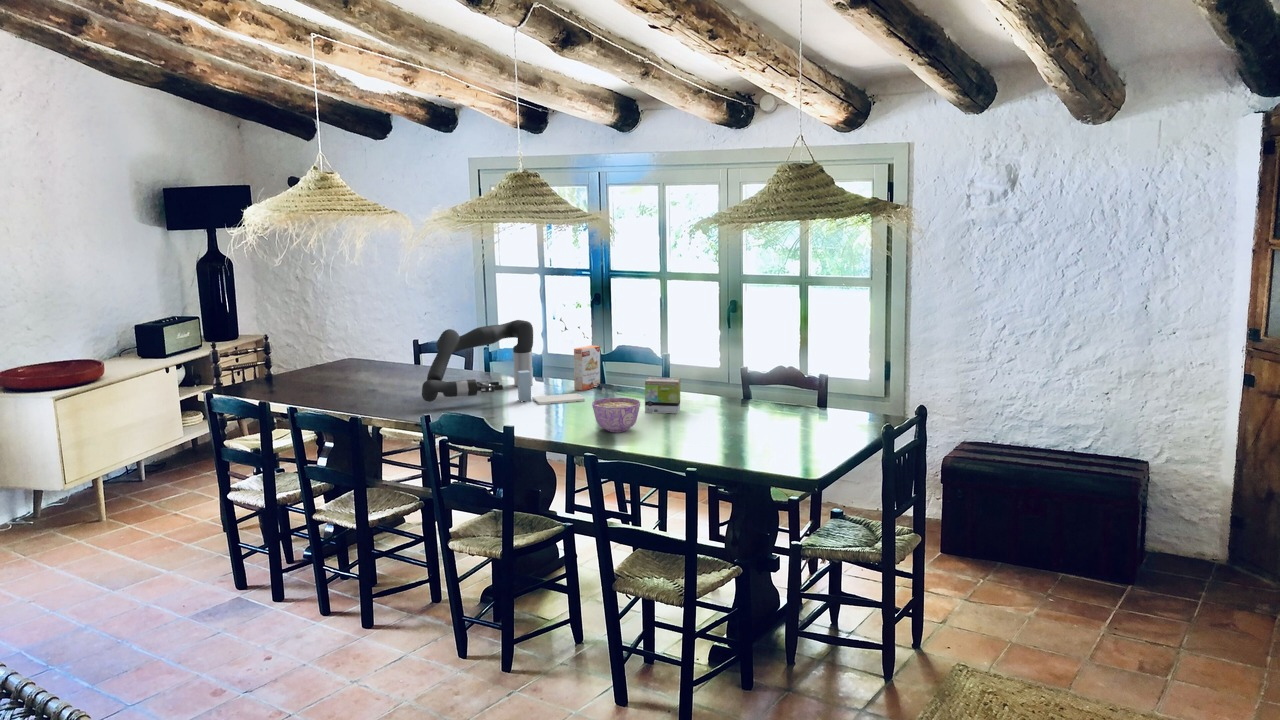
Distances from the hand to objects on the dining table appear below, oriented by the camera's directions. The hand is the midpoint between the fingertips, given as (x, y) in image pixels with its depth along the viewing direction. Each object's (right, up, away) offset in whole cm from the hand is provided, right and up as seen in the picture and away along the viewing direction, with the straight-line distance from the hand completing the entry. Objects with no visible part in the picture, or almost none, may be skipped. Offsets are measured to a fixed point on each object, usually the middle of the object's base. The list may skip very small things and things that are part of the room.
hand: (500, 385), depth 460 cm
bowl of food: (+55, -17, -54) cm, 79 cm away
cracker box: (+39, -2, +33) cm, 51 cm away
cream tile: (+26, -7, +5) cm, 28 cm away
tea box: (+75, -11, -20) cm, 79 cm away
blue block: (+11, -7, +5) cm, 14 cm away
